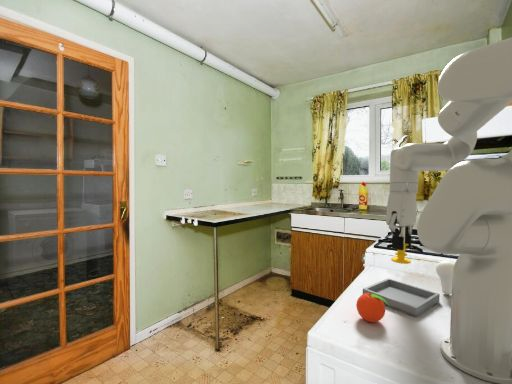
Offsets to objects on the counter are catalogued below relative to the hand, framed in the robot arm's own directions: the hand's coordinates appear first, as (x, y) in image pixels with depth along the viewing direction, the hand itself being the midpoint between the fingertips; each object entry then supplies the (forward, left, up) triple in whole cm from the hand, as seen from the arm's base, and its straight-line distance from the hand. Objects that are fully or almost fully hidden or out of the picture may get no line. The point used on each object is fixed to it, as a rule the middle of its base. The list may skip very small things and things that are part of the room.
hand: (401, 247), depth 80 cm
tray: (0, 0, -16) cm, 16 cm away
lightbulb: (-7, -16, -16) cm, 24 cm away
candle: (0, 0, -4) cm, 4 cm away
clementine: (-2, +19, -16) cm, 25 cm away
